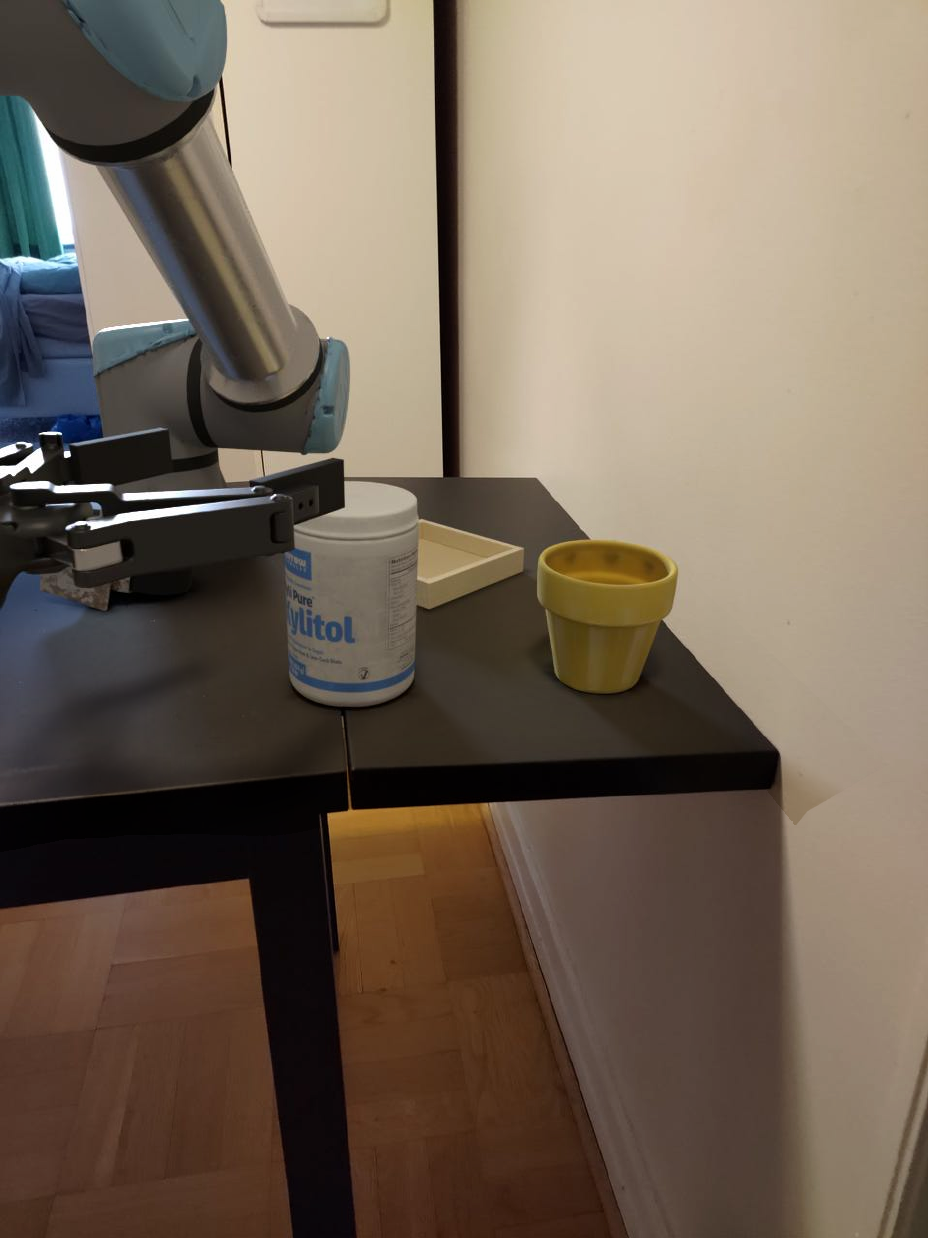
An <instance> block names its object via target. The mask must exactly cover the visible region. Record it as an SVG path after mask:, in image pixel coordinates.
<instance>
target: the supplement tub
mask: <svg viewBox="0 0 928 1238" xmlns="http://www.w3.org/2000/svg"><path fill="white" fill-rule="evenodd" d="M344 485H345V508H343V509H340V510H337V511H334V512H331V513H328V514H325V515H323V516H320V517H317V518H314V519H311V520H308V521H306V522H303V523H300V524H297V525H294V539H295V549H294V550H292V551H289V552H286V553H283V555H284V576H285V577H284V578H285V579H284V580H285V604H286V626H287V627H286V628H287V651H288V652H287V653H288V670H289V671H288V674H289V675H288V676H289V679H290V683H291V684H292V687H294V689H295V690H296V691H297V692H298V693H299V694H300V695H302V696H303V697H305V698H306V699H308V700H311V701H313V702H315V703H318V704H322V705H325V706H332V707H337V708H338V707H341V708H343V707H344V708H346V707H347V708H362V707H370V706H375V705H380V704H383V703H386V702H389V701H391V700H393V699H395V698H397V697H399V696H400V695H402V694H403V693H405V692H406V691H407V689H409V687H410V686H411V685H412V683H413V680H414V678H415V664H416V636H417V635H416V633H417V632H416V631H417V605H416V604H417V568H418V531H419V525H418V522H419V520H420V518H419V514H418V498H417V497H416V495H414V494H413V493H412V492H411V491H409V490H407V489H406V488H402V487H400V486H395V485H392V484H387V483H379V482H374V481H359V480H358V481H357V480H344Z"/></svg>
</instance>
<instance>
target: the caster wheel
mask: <svg viewBox="0 0 928 1238" xmlns="http://www.w3.org/2000/svg"><path fill="white" fill-rule="evenodd" d="M195 567H196V566H194V567H188V568H182V569H175V570H169V571H163V572H156V573H150V574H143V575H137V576H132V577H129V578H125V579H122V580H119V581H115V582H112V583H108V584H105V585H101V586H98V587H94V588H79V587H76V586H75V585H74V580H73V574H72V567H66V568H65V569H64V570H62V571H61V572H58V573H51V574H40V579H39V580H40V581H39V590H40V591H41V592H44V593H47V594H50V595H53V596H56V597H60V598H63V599H65V600H67V601H68V600H69V601H72V602H73V603H74V602H75V603H78V604H81V605H83V606H86V607H89V608H93V609H96V610H99V611H102V612H105V611H108V605H109V601H110V600H109V599H110V593H111V590H112V591H115V592H118V593H119V592H120V593H125V594H131V593H137V594H139V593H140V594H144V595H150V596H151V595H153V596H176V595H181V594H184V593H186V592H188V591H189V590H190V589H191V586H192V582H193V577H194V572H195Z"/></svg>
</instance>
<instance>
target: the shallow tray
mask: <svg viewBox="0 0 928 1238" xmlns="http://www.w3.org/2000/svg"><path fill="white" fill-rule="evenodd" d="M418 525H419V531H418V568H417V604H416V606H419V607H422V608H424V609H427V610H431V609H433V608H437V607H438V606H441V605H443V604H446V603H449V602H452V601H454V600H456V599H458V598H461V597H463V596H466V595H468V594H471V593H474V592H476V591H478V590H481V589H483V588H485V587H488V586H491V585H493V584H496V583H498V582H500V581H503V580H506V579H508V578H510V577H513V576H515V575H517V574H521V573H523V572H524V561H525V548H524V547H521V546H517V545H513V544H510V543H506V542H503V541H500V540H496V539H493V538H489V537H485V536H482V535H479V534H475V533H472V532H469V531H464V530H461V529H458V528H454V527H450V526H448V525H444V524H440V523H437V522H434V521H429V520H426V519H423V518H421V519H420V518H419V522H418Z"/></svg>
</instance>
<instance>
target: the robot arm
mask: <svg viewBox="0 0 928 1238" xmlns="http://www.w3.org/2000/svg"><path fill="white" fill-rule="evenodd" d="M227 52H228V24H227V14H226V7H225V5H224V4H223V2H222V0H0V97H1V96H2V97H19V98H22V99H23V100H24V101H25V102H27V103H28V105H29V106H30V108H31V109H32V111H33V112H34V114H35V116H36V117H37V119H38V120H39V122H40V123H41V125H42V126H43V128H44V130H45V132H46V133H47V134H48V135H49V137H50V139H51V140H52V141H53V143H54V144H55V145H56V146H57V147H58V148H59V150H61V151H62V152H63V153H64V154H66V155H68V156H69V157H70V158H73V159H74V160H77V161H78V162H81V163H84V164H88V165H90V166H91V165H92V166H95V168H96V169H97V172H98V173H99V174H100V176H101V177H102V179H103V181H104V183H105V184H106V186H107V188H108V190H109V191H110V193H111V194H112V196H113V198H114V199H115V201H116V202H117V204H118V206H119V208H120V209H121V211H122V212H123V214H124V216H125V217H126V219H127V221H128V222H129V224H130V225H131V228H132V230H133V231H134V232H135V234H136V235H137V238H138V239H139V240H140V242H141V244H142V246H143V247H144V249H145V250H146V252H147V254H148V256H149V257H150V259H151V260H152V262H153V264H154V265H155V268H156V269H157V270H158V272H159V273H160V276H161V278H162V279H163V280H164V282H165V284H166V285H167V287H168V289H169V290H170V292H171V293H172V296H173V298H175V300H176V301H177V303H178V305H179V307H180V309H181V310H182V311H183V313H184V316H185V317H186V318H184V319H174V320H164V321H155V322H146V323H145V322H144V323H137V324H130V325H121V326H114V327H108V328H103V329H101V330H99V331H98V332H97V333H96V334H95V335H94V337H93V340H92V343H91V344H92V347H91V348H92V363H93V365H92V366H93V372H92V378H93V379H94V382H95V389H96V397H97V402H98V410H99V418H100V424H101V430H102V437H101V438H96V439H90V440H83V441H80V442H73V443H69V444H68V450H69V451H68V450H67V451H65V447H64V440H63V434H62V432H58V431H47V432H41V433H38V434H37V435H38V436H37V437H38V441H39V448H38V449H36V450H35V449H34V444H33V443H27V442H24V441H19V442H15V443H14V444H10V445H7V446H5V447H2V448H0V611H1V610H2V608H3V607H4V605H5V603H6V600H7V597H8V593H9V591H10V589H11V587H12V584H13V583H14V581H15V579H16V578H17V577H18V576H19V575H20V574H21V573H25V574H27V575H35V576H36V575H37V576H38V575H41V574H51V573H58V572H61V571H62V570H64V569H65V568H66V567H72V574H73V580H74V585H75V586H76V587H79V588H94V587H98V586H101V585H105V584H108V583H112V582H115V581H119V580H122V579H125V578H129V577H132V576H137V575H143V574H150V573H156V572H163V571H169V570H175V569H182V568H188V567H194V566H195V567H200V566H206V565H211V564H212V565H213V564H218V563H219V564H220V563H226V562H232V561H238V560H244V559H249V558H250V559H251V558H258V557H263V556H264V557H265V558H268V557H271V556H275V555H277V554H284V553H286V552H289V551H292V550H294V549H295V539H294V525H297V524H300V523H303V522H306V521H308V520H311V519H314V518H317V517H320V516H323V515H325V514H328V513H331V512H334V511H337V510H340V509H343V508H345V485H344V481H345V459H344V458H343V459H342V458H338V457H330V458H327V459H323V460H319V461H316V462H312V463H308V464H304V465H301V466H297V467H293V468H289V469H286V470H282V471H279V472H275V473H271V474H268V475H267V474H266V475H264V476H261V477H257V478H253V479H249V481H248V482H249V483H248V484H249V487H233V488H229V485H228V484H227V481H226V479H225V476H224V475H223V472H222V470H221V467H220V456H219V449H230V450H244V451H245V450H246V451H264V452H280V453H295V454H300V455H301V456H306V455H308V454H329V453H333V451H335V450H336V449H337V448H338V446H339V445H340V443H341V441H342V438H343V434H344V431H345V428H346V422H347V417H348V409H349V401H350V400H349V399H350V388H351V361H350V353H349V349H348V346H347V344H346V343H345V342H344V341H343V340H342V339H337V338H333V337H332V336H327V337H326V338H320V336H319V334H318V330H317V328H316V327H315V325H314V323H313V322H312V320H311V319H310V317H308V315H306V313H304V312H303V311H302V310H301V309H300V308H298V307H296V306H294V305H292V304H290V303H288V299H287V297H286V294H285V293H284V290H283V288H282V285H281V284H280V281H279V278H278V276H277V274H276V271H275V269H274V266H273V264H272V262H271V259H270V257H269V255H268V252H267V249H266V247H265V244H264V243H263V240H262V238H261V235H260V233H259V231H258V227H257V225H256V223H255V221H254V219H253V217H252V213H251V211H250V209H249V207H248V204H247V202H246V199H245V197H244V195H243V192H242V190H241V187H240V185H239V183H238V181H237V180H238V179H237V178H236V175H235V173H234V170H233V168H232V166H231V163H230V161H229V159H228V156H227V153H226V152H225V149H224V147H223V144H222V141H221V140H220V137H219V135H218V133H217V130H216V128H215V125H214V122H213V121H212V118H211V116H210V113H211V111H212V109H213V106H214V104H215V101H216V97H217V92H218V84H219V82H220V81H221V78H222V75H223V73H224V70H225V68H226V67H225V66H226V62H227ZM70 482H73V483H74V485H70ZM92 503H95V504H97V505H99V506H100V508H95V507H93V504H92ZM195 567H194V568H195Z"/></svg>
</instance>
